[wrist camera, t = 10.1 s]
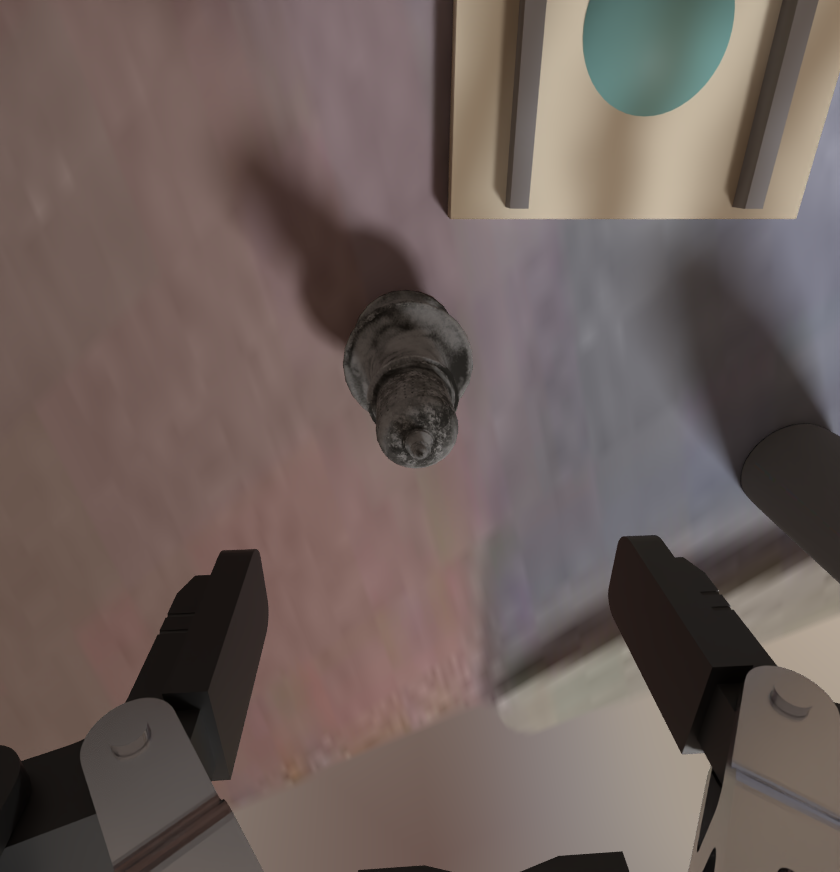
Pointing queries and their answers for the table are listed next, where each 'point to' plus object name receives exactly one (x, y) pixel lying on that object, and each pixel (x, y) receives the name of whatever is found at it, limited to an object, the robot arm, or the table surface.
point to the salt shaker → (409, 375)
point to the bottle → (800, 488)
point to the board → (638, 107)
